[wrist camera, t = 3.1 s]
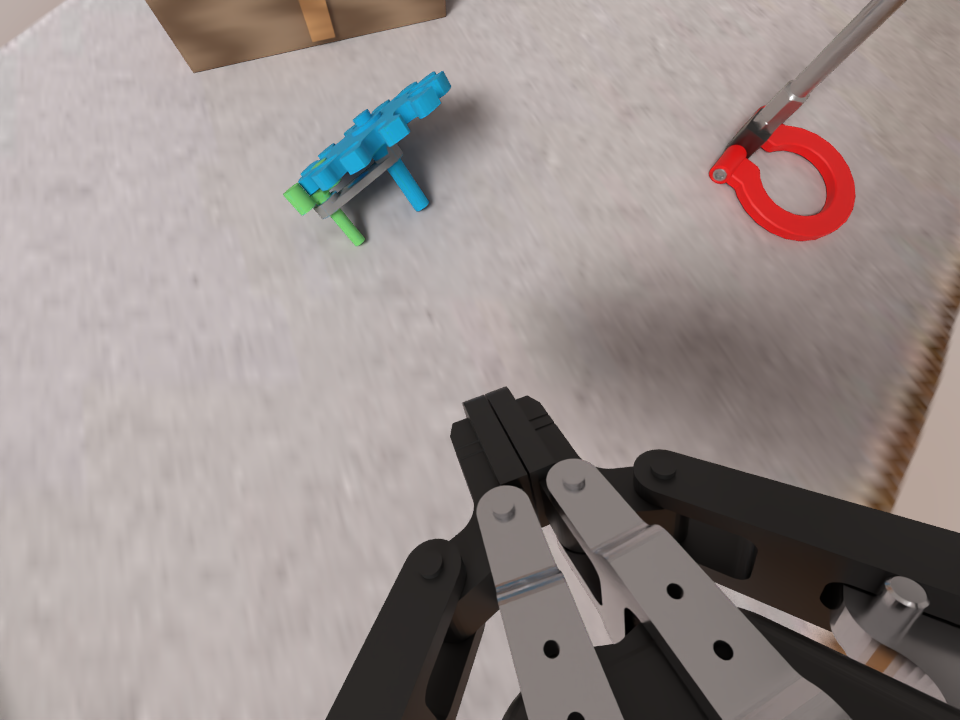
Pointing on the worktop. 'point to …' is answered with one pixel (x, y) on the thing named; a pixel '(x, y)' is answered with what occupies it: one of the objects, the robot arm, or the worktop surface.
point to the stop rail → (277, 25)
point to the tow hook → (799, 141)
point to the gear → (368, 155)
